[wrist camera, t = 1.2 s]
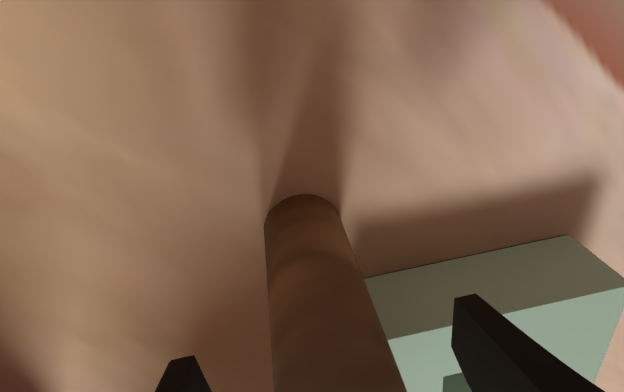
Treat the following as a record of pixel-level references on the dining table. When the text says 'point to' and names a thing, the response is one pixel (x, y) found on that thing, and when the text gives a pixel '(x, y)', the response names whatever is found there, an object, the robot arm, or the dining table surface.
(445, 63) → the dining table surface
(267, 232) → the walnut peg
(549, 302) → the socket block
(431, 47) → the dining table surface
